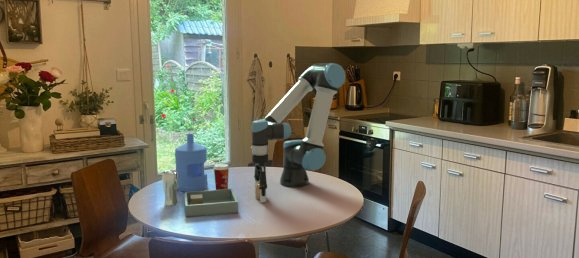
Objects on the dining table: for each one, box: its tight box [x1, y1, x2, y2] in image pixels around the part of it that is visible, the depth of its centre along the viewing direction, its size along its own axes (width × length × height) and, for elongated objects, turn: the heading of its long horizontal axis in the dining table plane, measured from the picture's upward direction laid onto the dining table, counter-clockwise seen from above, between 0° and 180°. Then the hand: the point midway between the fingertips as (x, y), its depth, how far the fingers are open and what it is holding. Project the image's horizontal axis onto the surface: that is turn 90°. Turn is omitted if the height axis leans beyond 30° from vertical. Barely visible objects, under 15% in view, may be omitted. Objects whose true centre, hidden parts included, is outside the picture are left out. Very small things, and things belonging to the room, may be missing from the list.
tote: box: [184, 188, 239, 218], centre depth 198 cm, size 22×20×5 cm
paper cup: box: [212, 163, 230, 190], centre depth 218 cm, size 8×8×14 cm
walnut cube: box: [191, 194, 203, 205], centre depth 196 cm, size 5×5×5 cm
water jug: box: [174, 133, 209, 193], centre depth 226 cm, size 16×16×28 cm
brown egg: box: [254, 183, 260, 201], centre depth 211 cm, size 5×5×7 cm
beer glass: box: [161, 169, 179, 207], centre depth 202 cm, size 7×7×15 cm
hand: (260, 197), depth 211 cm, fingers open, 12 cm apart
